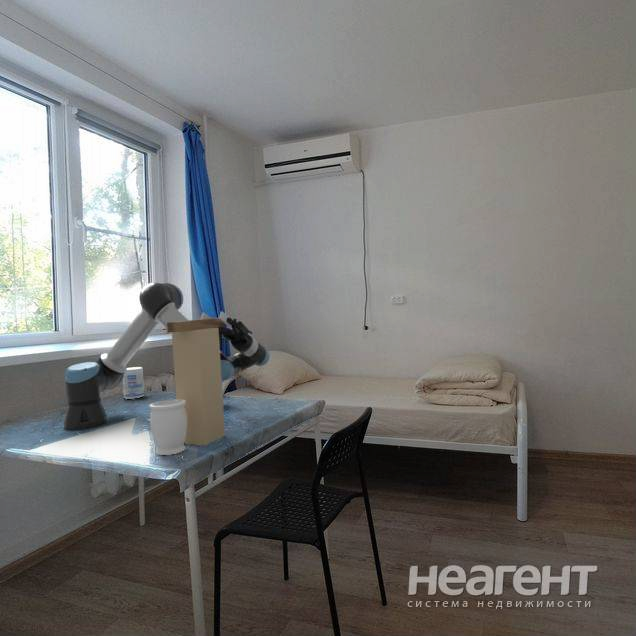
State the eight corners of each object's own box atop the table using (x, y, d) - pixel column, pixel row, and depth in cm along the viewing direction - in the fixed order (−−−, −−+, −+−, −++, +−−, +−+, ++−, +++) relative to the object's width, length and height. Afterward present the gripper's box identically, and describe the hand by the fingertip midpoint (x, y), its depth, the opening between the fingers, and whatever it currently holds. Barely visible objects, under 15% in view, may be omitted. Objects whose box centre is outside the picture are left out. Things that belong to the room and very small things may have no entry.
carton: (179, 443, 152) (171, 331, 151) (200, 433, 162) (193, 328, 161) (205, 445, 148) (197, 330, 147) (225, 435, 158) (218, 327, 157)
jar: (158, 460, 137) (155, 408, 136) (148, 451, 145) (144, 403, 145) (194, 451, 143) (190, 401, 143) (182, 444, 152) (178, 397, 151)
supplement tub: (129, 400, 227) (127, 370, 227) (120, 399, 234) (118, 369, 233) (148, 397, 235) (146, 367, 234) (138, 395, 241) (136, 366, 240)
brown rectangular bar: (167, 332, 145) (166, 322, 144) (218, 325, 169) (218, 317, 169) (178, 332, 143) (177, 322, 143) (228, 325, 168) (227, 317, 168)
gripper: (224, 334, 186) (190, 307, 168) (269, 333, 179) (238, 304, 160) (220, 352, 183) (184, 326, 164) (265, 351, 176) (233, 324, 157)
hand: (211, 315), depth 162 cm, fingers open, 7 cm apart
